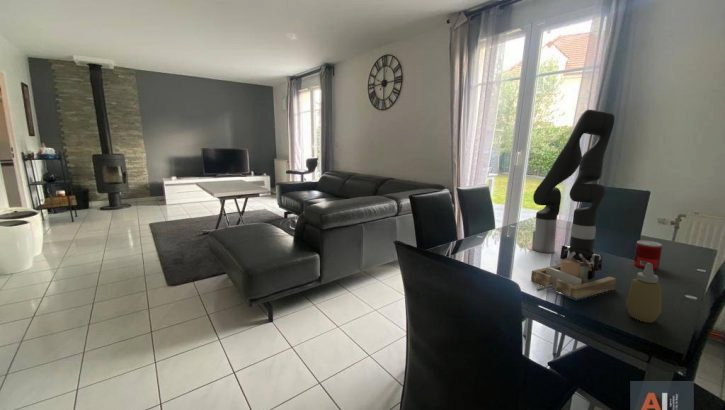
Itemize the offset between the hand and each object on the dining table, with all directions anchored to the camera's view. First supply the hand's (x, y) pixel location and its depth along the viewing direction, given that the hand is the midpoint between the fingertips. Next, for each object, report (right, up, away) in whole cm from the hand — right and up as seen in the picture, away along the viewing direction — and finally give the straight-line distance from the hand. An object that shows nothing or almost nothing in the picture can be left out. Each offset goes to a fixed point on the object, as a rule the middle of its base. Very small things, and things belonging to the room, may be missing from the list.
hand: (578, 275), depth 117 cm
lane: (-3, -4, -1) cm, 5 cm away
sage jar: (+1, -3, +1) cm, 4 cm away
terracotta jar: (-5, -4, -1) cm, 6 cm away
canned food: (+39, 0, +14) cm, 42 cm away
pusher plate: (-14, -5, -5) cm, 15 cm away
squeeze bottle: (+3, -8, -24) cm, 25 cm away
